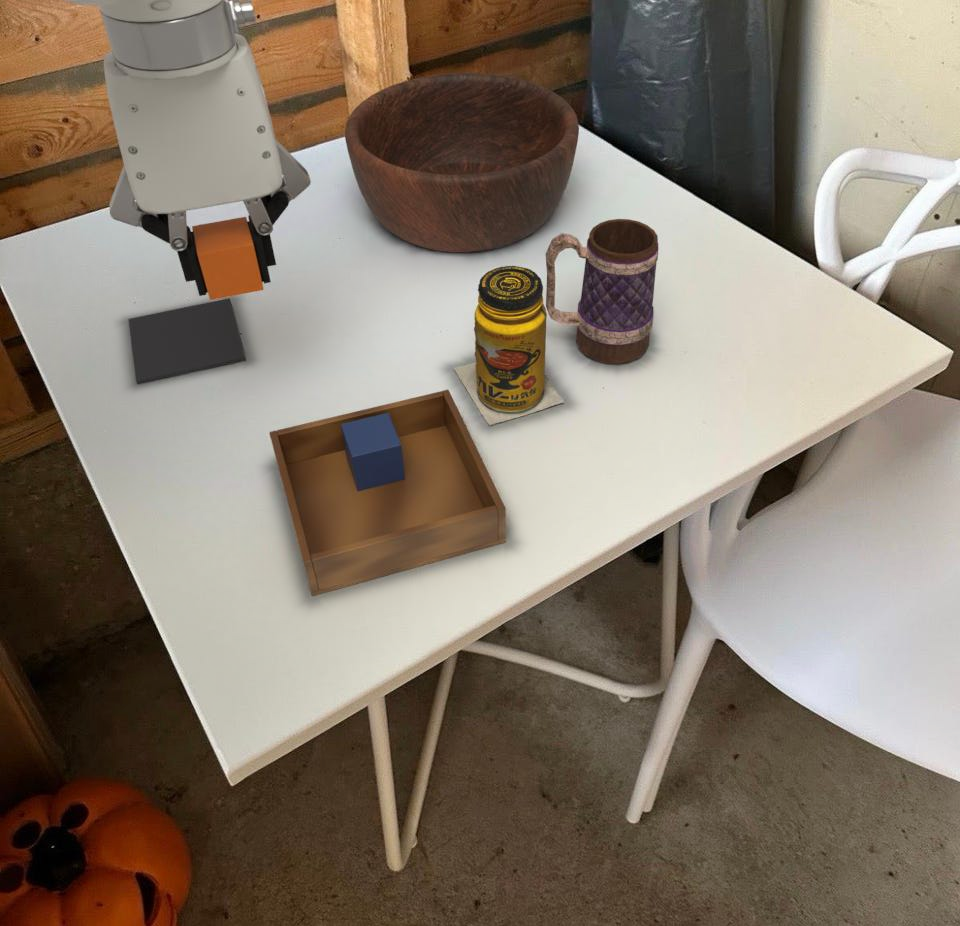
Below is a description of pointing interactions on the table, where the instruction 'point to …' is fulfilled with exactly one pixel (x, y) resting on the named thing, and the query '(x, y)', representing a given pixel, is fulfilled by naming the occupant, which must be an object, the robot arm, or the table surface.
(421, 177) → the wooden bowl
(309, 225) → the table surface
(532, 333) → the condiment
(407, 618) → the table surface
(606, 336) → the mug
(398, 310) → the table surface
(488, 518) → the tray
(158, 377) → the mat
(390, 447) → the blue cube
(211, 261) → the orange cube
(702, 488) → the table surface
